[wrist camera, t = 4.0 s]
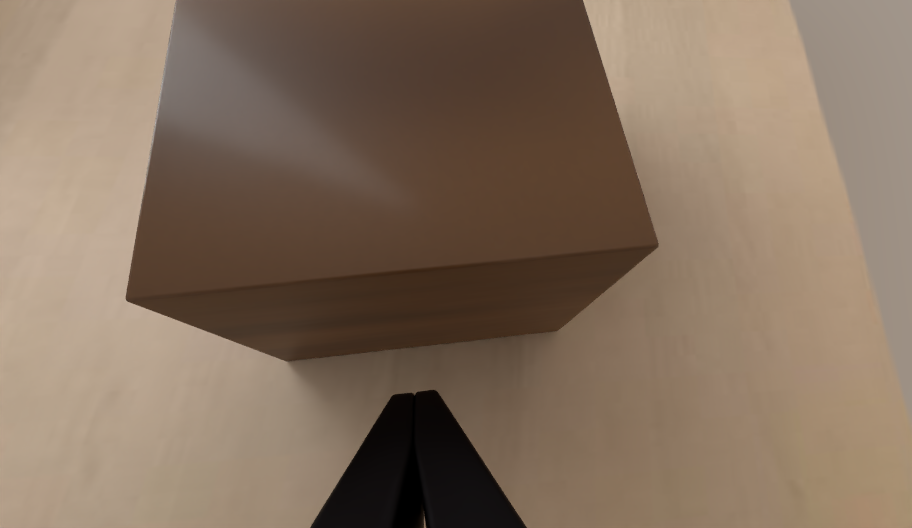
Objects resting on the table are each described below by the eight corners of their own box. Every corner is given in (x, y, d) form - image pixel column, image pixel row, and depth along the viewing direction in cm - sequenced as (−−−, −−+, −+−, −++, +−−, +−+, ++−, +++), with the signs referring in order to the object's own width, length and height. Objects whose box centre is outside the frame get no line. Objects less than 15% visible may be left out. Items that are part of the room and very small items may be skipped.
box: (558, 330, 16) (660, 246, 8) (285, 361, 15) (123, 301, 8) (511, 97, 19) (550, -107, 12) (292, 114, 19) (189, -89, 11)
